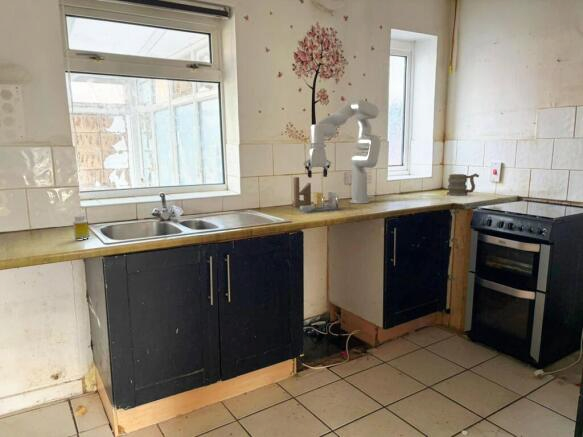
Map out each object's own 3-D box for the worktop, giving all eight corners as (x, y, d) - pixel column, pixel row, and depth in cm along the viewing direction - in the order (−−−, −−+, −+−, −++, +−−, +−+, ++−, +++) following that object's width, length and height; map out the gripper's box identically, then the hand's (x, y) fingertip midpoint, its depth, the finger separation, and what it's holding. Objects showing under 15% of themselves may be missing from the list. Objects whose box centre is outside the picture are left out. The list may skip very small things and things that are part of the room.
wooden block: (311, 206, 269) (310, 176, 266) (295, 207, 265) (294, 177, 261) (308, 205, 272) (308, 176, 269) (292, 206, 268) (292, 177, 265)
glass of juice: (91, 239, 187) (89, 215, 186) (78, 241, 183) (75, 217, 182) (86, 237, 191) (83, 214, 189) (72, 239, 187) (70, 216, 186)
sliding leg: (319, 206, 255) (319, 191, 254) (327, 208, 247) (326, 193, 246) (313, 206, 254) (313, 192, 252) (320, 208, 246) (320, 193, 244)
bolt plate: (330, 207, 262) (330, 204, 262) (341, 209, 250) (341, 207, 250) (297, 210, 253) (297, 207, 253) (306, 213, 242) (306, 210, 241)
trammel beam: (332, 205, 259) (331, 191, 257) (339, 207, 250) (339, 193, 249) (299, 208, 250) (299, 194, 249) (306, 210, 242) (305, 195, 241)
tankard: (445, 195, 303) (445, 173, 300) (450, 193, 313) (450, 172, 310) (475, 196, 291) (476, 174, 289) (479, 194, 302) (481, 172, 299)
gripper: (327, 146, 253) (327, 176, 256) (300, 146, 247) (300, 177, 249) (334, 146, 247) (334, 176, 249) (306, 146, 240) (306, 178, 243)
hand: (317, 177), depth 249 cm, fingers open, 9 cm apart
